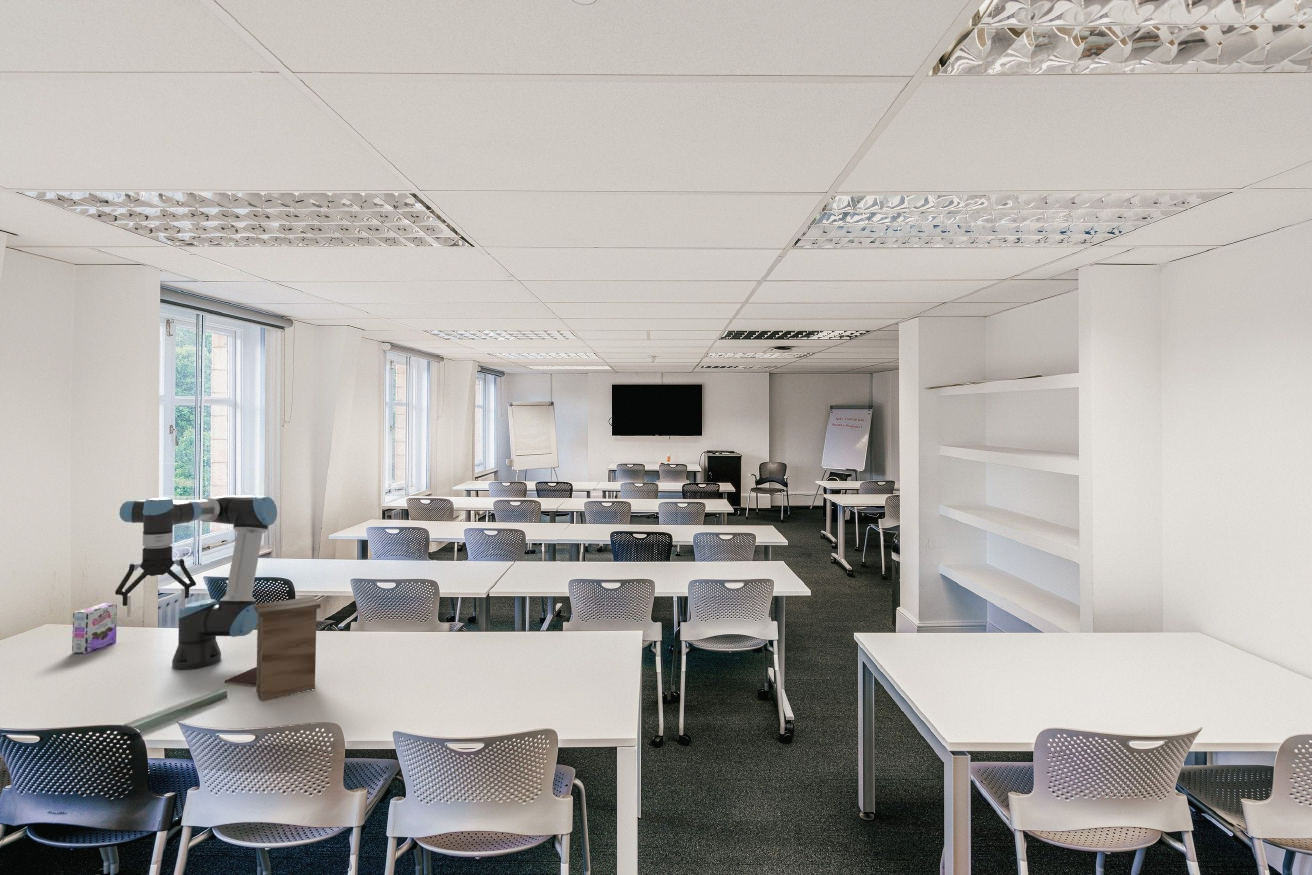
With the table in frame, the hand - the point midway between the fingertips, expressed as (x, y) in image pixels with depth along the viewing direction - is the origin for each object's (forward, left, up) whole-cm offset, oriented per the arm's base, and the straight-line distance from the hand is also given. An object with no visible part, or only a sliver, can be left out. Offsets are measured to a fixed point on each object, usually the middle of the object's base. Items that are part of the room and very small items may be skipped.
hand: (156, 612), depth 199 cm
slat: (+11, +6, -31) cm, 33 cm away
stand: (+11, +35, -31) cm, 48 cm away
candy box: (-81, -16, -31) cm, 88 cm away
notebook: (-9, +32, -31) cm, 46 cm away
